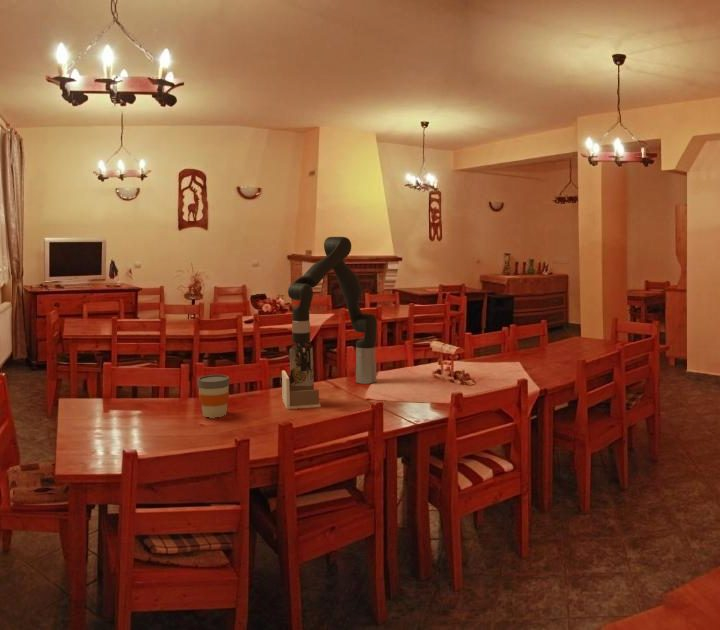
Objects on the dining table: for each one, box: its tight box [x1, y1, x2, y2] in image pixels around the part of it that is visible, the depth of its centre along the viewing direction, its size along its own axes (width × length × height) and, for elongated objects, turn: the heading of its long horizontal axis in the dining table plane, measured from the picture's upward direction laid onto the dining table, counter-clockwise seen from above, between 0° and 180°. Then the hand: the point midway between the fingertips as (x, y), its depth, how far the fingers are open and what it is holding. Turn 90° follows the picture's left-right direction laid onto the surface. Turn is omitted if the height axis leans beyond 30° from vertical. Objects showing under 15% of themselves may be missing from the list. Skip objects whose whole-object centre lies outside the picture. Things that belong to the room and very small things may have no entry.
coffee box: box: [289, 345, 315, 386], centre depth 269 cm, size 9×6×16 cm
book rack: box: [281, 370, 321, 410], centre depth 270 cm, size 14×15×13 cm
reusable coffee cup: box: [196, 374, 231, 419], centre depth 253 cm, size 13×13×15 cm
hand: (301, 369), depth 269 cm, fingers closed on coffee box, 7 cm apart
